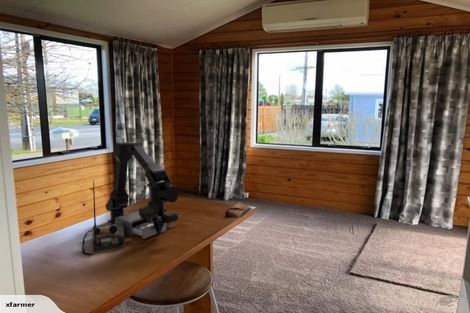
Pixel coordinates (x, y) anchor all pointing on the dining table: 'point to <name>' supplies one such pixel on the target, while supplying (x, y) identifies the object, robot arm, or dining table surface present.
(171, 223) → the walnut block
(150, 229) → the tray
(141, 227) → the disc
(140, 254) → the dining table surface
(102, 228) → the radio
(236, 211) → the sunglasses case
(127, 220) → the grey drawer cabinet
